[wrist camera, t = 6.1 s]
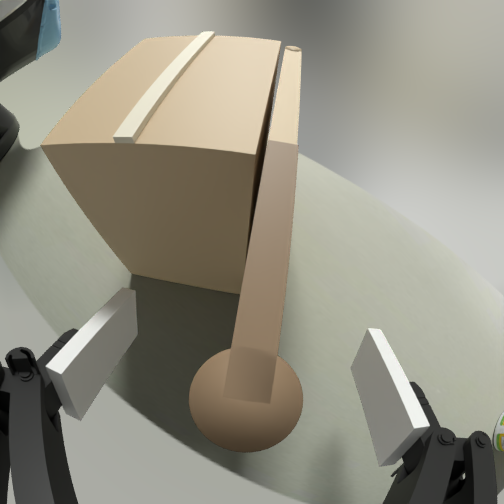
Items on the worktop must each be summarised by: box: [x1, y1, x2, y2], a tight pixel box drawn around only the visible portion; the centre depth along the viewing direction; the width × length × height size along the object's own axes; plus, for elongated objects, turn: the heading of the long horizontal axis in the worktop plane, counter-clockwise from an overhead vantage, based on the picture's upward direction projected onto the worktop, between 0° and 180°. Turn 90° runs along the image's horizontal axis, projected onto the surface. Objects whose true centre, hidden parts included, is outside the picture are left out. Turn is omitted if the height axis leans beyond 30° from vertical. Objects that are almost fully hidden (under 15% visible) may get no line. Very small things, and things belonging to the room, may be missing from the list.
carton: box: [40, 32, 281, 294], centre depth 17 cm, size 11×9×14 cm
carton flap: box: [189, 46, 303, 452], centre depth 15 cm, size 19×2×14 cm, turn 171°
